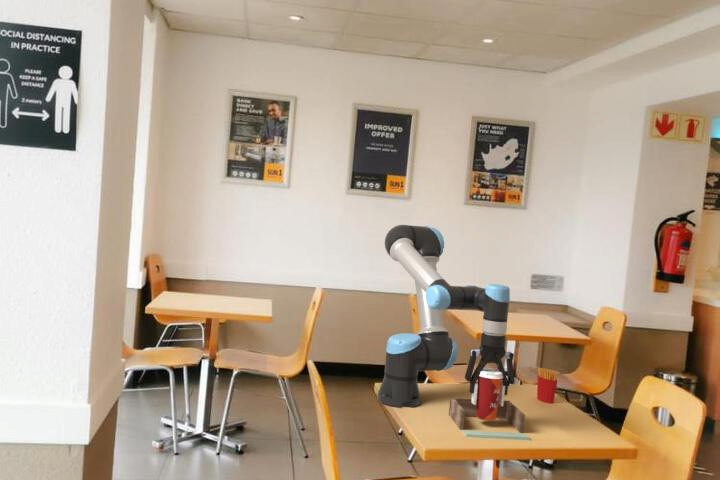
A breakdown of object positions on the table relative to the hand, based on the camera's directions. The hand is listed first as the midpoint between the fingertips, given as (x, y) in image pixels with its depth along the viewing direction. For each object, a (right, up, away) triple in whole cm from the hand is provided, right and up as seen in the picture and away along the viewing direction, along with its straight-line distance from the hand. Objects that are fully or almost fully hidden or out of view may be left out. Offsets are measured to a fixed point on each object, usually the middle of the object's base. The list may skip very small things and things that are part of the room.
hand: (487, 404), depth 195 cm
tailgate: (0, -7, -7) cm, 9 cm away
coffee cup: (0, -5, 0) cm, 4 cm away
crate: (-1, -8, +1) cm, 8 cm away
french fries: (+30, -9, +39) cm, 50 cm away
